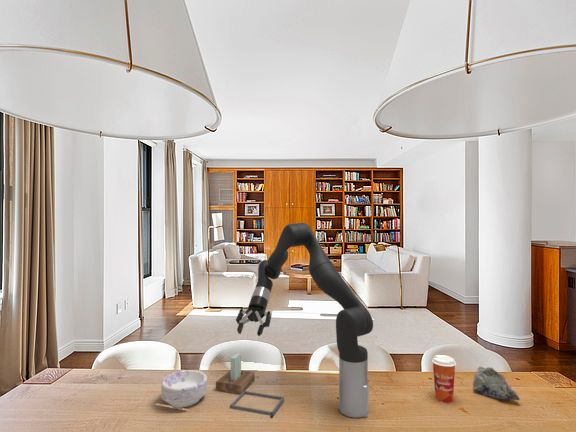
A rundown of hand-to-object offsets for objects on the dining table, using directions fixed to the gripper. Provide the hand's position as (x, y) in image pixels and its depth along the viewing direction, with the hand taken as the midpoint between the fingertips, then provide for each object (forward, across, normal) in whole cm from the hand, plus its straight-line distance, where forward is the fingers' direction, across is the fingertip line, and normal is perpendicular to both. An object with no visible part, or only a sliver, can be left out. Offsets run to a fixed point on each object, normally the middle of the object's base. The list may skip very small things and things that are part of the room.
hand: (248, 333), depth 146 cm
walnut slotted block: (+20, 0, +4) cm, 20 cm away
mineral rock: (+4, +90, +19) cm, 92 cm away
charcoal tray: (+27, +13, -4) cm, 30 cm away
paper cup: (+9, +73, +14) cm, 75 cm away
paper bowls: (+31, -12, -7) cm, 34 cm away
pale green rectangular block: (+19, 0, +3) cm, 20 cm away
